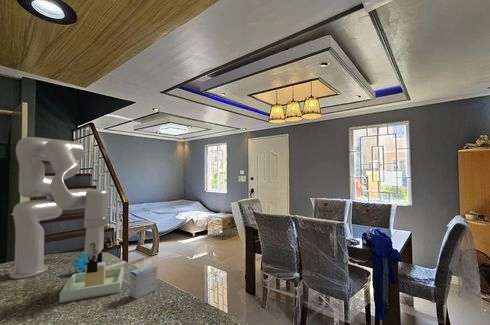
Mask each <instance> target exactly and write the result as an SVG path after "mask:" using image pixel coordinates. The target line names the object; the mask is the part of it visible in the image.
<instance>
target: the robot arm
mask: <svg viewBox="0 0 490 325" xmlns="http://www.w3.org/2000/svg"><path fill="white" fill-rule="evenodd" d="M15 154H16V159H17V161H18V162H17V163H18V164H19V166H18V167H19V169H18V170H19V171H18V193H19V195H20V196H21V197H23V198H29V199H30V198H43V197H46V199H45V198H43V199H35V200H33V199H32V200H25V201H22V202H19V203H17V204H16V205H15V206H14V207H13V210H12V216H13V221H14V227H15V243H14V244H15V246H14V270H13V271H11V272H10V273H9V278H10V279H15V280H17V279H24V278H25V279H26V278H29V277H34V276H37V275H38V276H39V275H40V274H43V273H45V272H46V271H48V269H49V266H48V265H46V264H44V263H45V262H44V260H45V257H44V256H45V229H44V228H43V226H42V225H41V224H40V223H39V222H41V221H48V220H53V219H56V218H58V217H60V216H61V215H62V214H63V210H64V211H67V210H68V211H70V210H76V209H78V210H79V209H84V221H83V222H84V228H85V229H86V230H85V237H84V250H83V256H84V257H85V256H86V255H88V256H87V257H88V259H87V273H94V272H97V263H101V262H103V249H104V242H105V240H104V239H105V231H104V230H105V227H106V226H108V216H109V215H108V210H109V209H108V208H109V192H108V191H107V190H106V189H96V188H72V189H71V188H70V189H68V187H67V186H66V183H65V180H67V179H70V178H72V177H74V176H75V175H77V174H78V173H79V172H80V170H81V166H80V164H79V162H78V161H80V160H82V159H83V158H84V156H85V154H86V153H85V147H84V146H83V145H82V144H81V143H80V142H78V141H72V140H64V139H53V138H46V137H38V136H36V137H35V136H28V137H27V136H26V137H23V138H21V139H20V140H18V142H17V144H16V146H15ZM40 158H47V159H48V161H49V163H50V165H51V167H52V169H53V171H54V173H55V175H45V171H46V169H45V168H46V167H45V164H44V162H43V161H42V160H41V159H40Z"/></svg>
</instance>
